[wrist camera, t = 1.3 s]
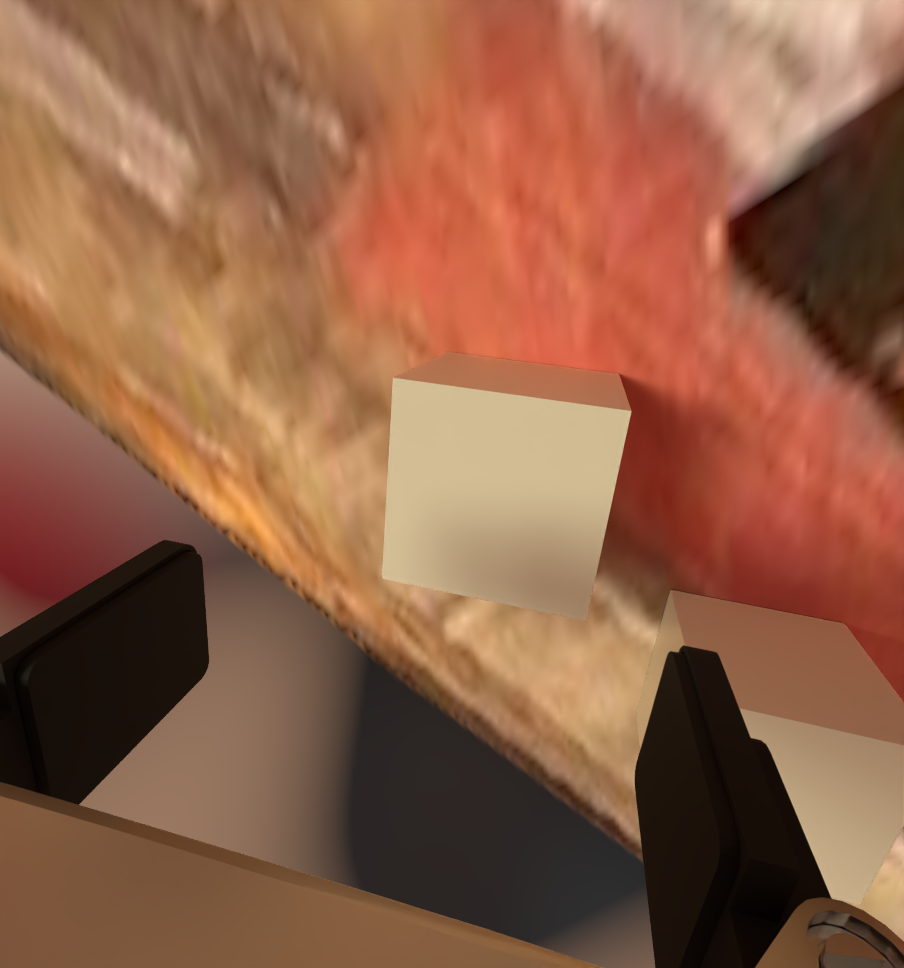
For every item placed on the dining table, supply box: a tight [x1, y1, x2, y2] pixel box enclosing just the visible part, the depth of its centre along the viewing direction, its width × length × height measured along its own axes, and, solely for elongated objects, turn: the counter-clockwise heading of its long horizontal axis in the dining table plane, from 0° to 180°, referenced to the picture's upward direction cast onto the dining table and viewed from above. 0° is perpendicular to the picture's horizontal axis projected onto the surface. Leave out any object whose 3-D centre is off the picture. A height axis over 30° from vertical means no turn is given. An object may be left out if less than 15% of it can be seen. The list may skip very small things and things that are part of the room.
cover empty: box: [636, 590, 904, 905], centre depth 22 cm, size 7×7×7 cm
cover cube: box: [382, 352, 631, 621], centre depth 20 cm, size 7×7×7 cm
